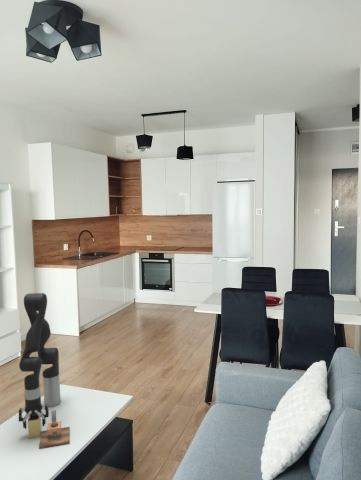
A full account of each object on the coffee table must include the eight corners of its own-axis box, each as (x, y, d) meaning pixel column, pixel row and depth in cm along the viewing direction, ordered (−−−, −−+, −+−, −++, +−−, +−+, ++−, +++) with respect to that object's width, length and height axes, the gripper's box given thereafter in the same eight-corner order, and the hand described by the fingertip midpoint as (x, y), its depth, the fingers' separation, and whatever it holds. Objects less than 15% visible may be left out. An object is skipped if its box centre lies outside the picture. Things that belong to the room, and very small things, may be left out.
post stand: (41, 433, 208) (39, 407, 207) (69, 428, 212) (68, 402, 211) (39, 448, 195) (37, 420, 194) (69, 443, 198) (68, 416, 197)
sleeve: (29, 432, 210) (28, 415, 209) (41, 430, 211) (40, 414, 210) (28, 438, 204) (27, 421, 203) (40, 436, 206) (39, 419, 205)
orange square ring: (48, 426, 205) (47, 423, 205) (61, 424, 207) (61, 421, 207) (47, 432, 199) (47, 429, 199) (61, 430, 201) (60, 427, 201)
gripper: (47, 390, 211) (49, 420, 213) (18, 394, 208) (20, 425, 209) (47, 397, 204) (48, 428, 205) (16, 401, 201) (18, 433, 202)
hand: (34, 426), depth 207 cm, fingers open, 8 cm apart
